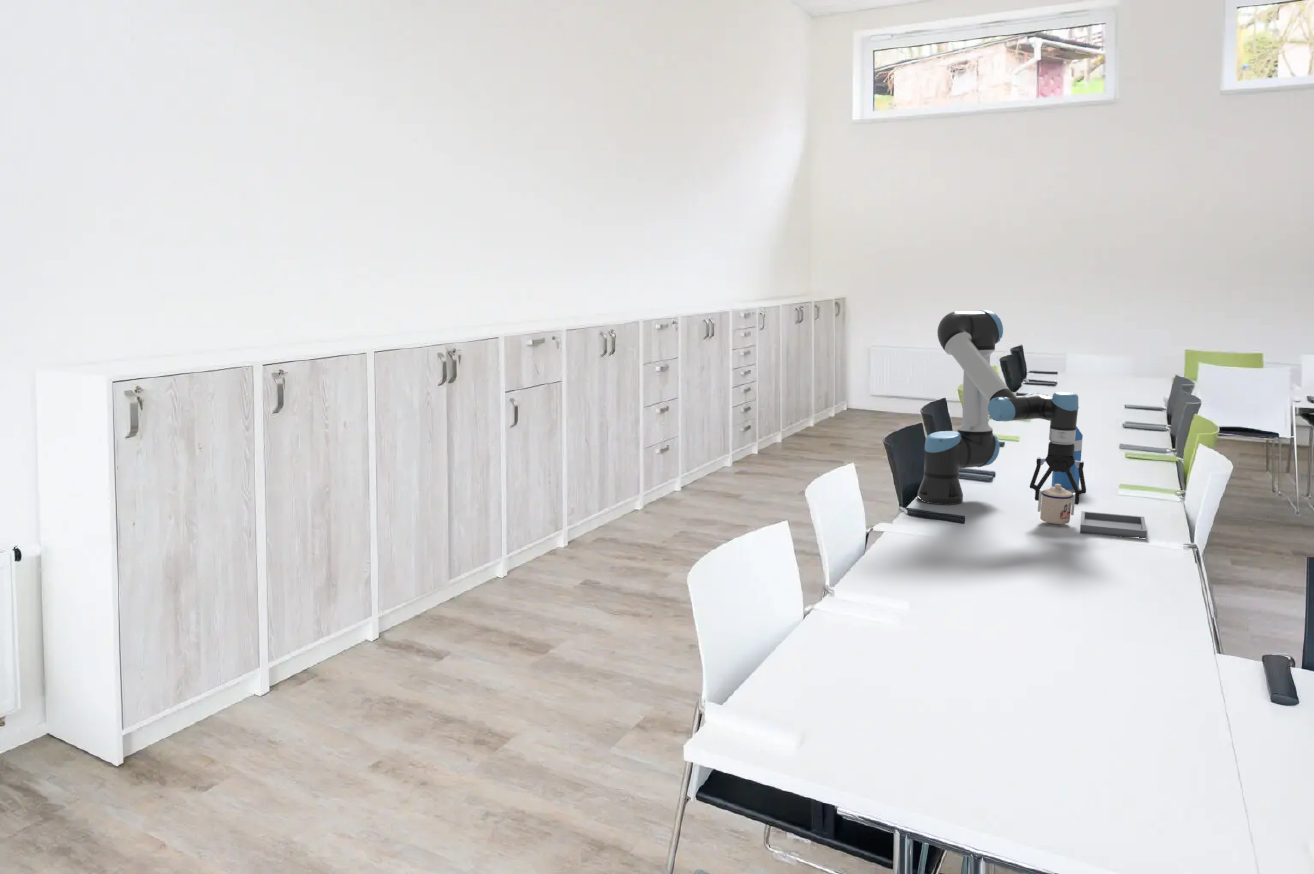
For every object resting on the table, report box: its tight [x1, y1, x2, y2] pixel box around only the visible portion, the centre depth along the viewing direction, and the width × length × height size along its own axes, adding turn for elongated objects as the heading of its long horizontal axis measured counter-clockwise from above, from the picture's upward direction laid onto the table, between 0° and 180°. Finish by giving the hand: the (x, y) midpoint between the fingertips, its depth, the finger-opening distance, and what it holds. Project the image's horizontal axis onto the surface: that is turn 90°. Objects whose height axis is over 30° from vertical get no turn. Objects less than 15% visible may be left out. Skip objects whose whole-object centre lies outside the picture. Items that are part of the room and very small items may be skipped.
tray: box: [1079, 510, 1148, 539], centre depth 301 cm, size 18×18×3 cm
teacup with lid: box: [1040, 484, 1073, 525], centre depth 307 cm, size 12×9×12 cm
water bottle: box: [1051, 425, 1083, 490], centre depth 356 cm, size 9×9×25 cm
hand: (1055, 512), depth 307 cm, fingers closed on teacup with lid, 9 cm apart
